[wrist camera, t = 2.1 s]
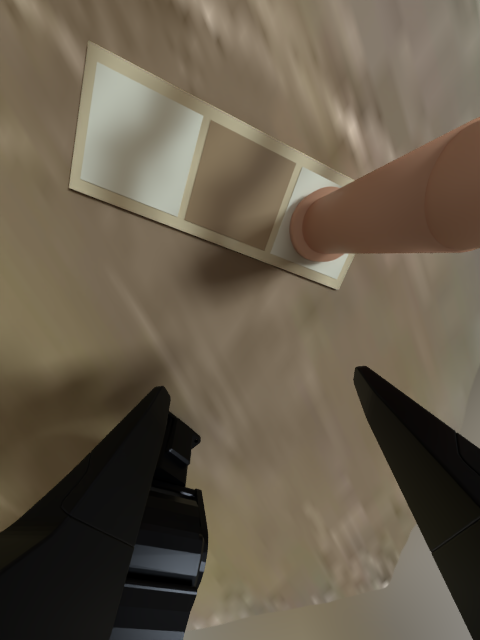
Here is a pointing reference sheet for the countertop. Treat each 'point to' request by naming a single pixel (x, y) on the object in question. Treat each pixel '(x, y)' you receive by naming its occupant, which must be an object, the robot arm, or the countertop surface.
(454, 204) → the tan knob handle
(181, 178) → the board
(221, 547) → the countertop surface
